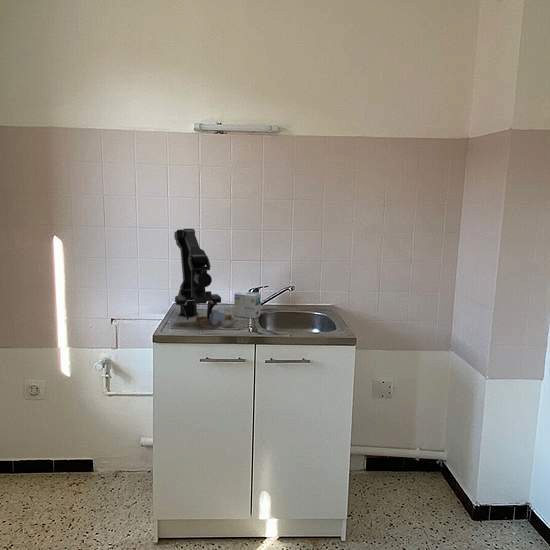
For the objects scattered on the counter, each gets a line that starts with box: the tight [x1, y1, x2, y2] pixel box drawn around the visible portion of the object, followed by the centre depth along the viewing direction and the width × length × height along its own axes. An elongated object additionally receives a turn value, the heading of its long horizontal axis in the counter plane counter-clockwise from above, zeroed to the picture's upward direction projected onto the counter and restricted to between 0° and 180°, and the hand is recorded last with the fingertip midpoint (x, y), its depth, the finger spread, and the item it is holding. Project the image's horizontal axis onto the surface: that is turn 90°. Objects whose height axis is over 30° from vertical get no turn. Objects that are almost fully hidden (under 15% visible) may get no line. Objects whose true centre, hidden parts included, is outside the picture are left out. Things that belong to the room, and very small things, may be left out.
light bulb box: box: [233, 290, 262, 319], centre depth 220 cm, size 11×7×11 cm, turn 71°
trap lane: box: [195, 314, 238, 330], centre depth 206 cm, size 16×14×2 cm
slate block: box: [209, 309, 226, 326], centre depth 207 cm, size 5×5×5 cm
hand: (197, 319), depth 205 cm, fingers open, 8 cm apart
